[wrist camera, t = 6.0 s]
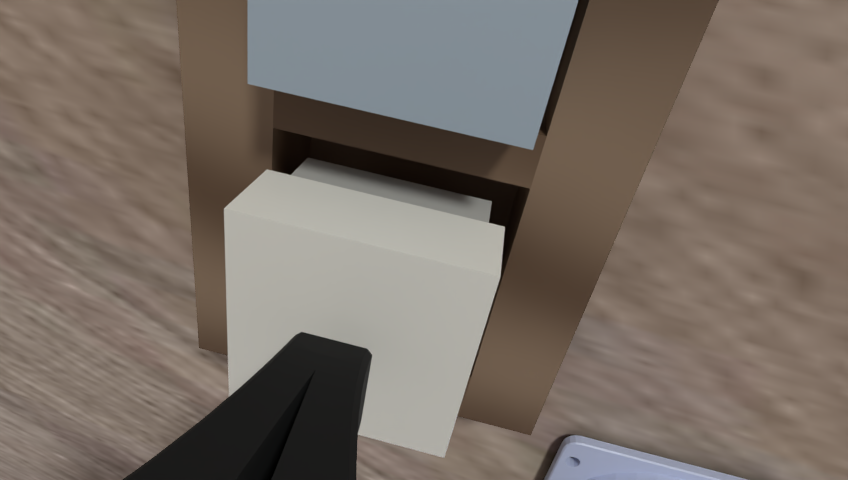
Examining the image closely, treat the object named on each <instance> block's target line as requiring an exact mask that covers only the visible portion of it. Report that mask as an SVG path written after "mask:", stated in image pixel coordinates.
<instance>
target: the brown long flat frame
mask: <svg viewBox="0 0 848 480" xmlns="http://www.w3.org/2000/svg"><path fill="white" fill-rule="evenodd" d="M718 1H719V0H578V4H577V7H576V10H575V14H574V17H573V20H572V24H571V27H570V30H569V33H568V37H567V40H566V43H565V47H564V50H563V53H562V56H561V60H560V63H559V66H558V70H557V73H556V76H555V80H554V83H553V86H552V89H551V93H550V96H549V99H548V103H547V106H546V109H545V112H544V116H543V119H542V122H541V126H540V129H539V132H538V135H537V139H536V142H535V145H534V149H533V150H531V149H526V148H522V147H518V146H513V145H509V144H505V143H500V142H496V141H492V140H487V139H483V138H479V137H475V136H470V135H466V134H462V133H457V132H453V131H449V130H444V129H440V128H436V127H431V126H427V125H423V124H418V123H414V122H410V121H406V120H401V119H397V118H393V117H388V116H384V115H380V114H375V113H371V112H367V111H362V110H358V109H354V108H350V107H345V106H341V105H337V104H332V103H328V102H324V101H319V100H315V99H311V98H306V97H302V96H298V95H293V94H289V93H285V92H281V91H276V90H272V89H268V88H263V87H259V86H255V85H250V84H248V0H176V4H177V19H178V34H179V49H180V64H181V80H182V95H183V110H184V125H185V140H186V156H187V171H188V186H189V201H190V216H191V232H192V247H193V262H194V277H195V292H196V307H197V323H198V338H199V348H202V349H205V350H209V351H213V352H217V353H220V354H224V355H228V342H227V306H226V269H225V233H224V208H225V207H226V206H227V205H228V204H229V203H231V202H232V201H233V200H234V199H235V198H236V197H237V196H238V195H239V194H240V193H241V192H243V191H244V190H245V189H246V188H247V187H248V186H249V185H250V184H251V183H252V182H254V181H255V180H256V179H257V178H258V177H259V176H260V175H261V174H262V173H263V172H265V171H266V170H267V169H268V170H272V171H276V172H280V173H284V174H288V175H291V174H292V173H293V172H294V171H295V170H296V169H297V168H298V167H299V166H300V165H301V164H302V163H303V162H304V161H305V160H306V159H307V158H312V159H316V160H321V161H325V162H329V163H333V164H337V165H342V166H346V167H350V168H354V169H358V170H363V171H367V172H371V173H375V174H379V175H383V176H388V177H392V178H396V179H400V180H404V181H409V182H413V183H417V184H421V185H425V186H430V187H434V188H438V189H442V190H446V191H450V192H455V193H459V194H463V195H467V196H471V197H476V198H480V199H484V200H488V201H492V204H491V211H490V218H489V223H492V224H496V225H500V226H504V227H505V232H504V243H503V254H502V265H501V276H500V280H499V283H498V286H497V290H496V293H495V296H494V299H493V302H492V306H491V309H490V312H489V315H488V318H487V322H486V325H485V328H484V331H483V335H482V338H481V341H480V344H479V347H478V351H477V354H476V357H475V360H474V364H473V367H472V370H471V373H470V376H469V380H468V383H467V386H466V389H465V392H464V396H463V399H462V402H461V405H460V409H459V412H458V415H457V416H460V417H463V418H467V419H471V420H475V421H479V422H482V423H486V424H490V425H494V426H498V427H501V428H505V429H509V430H513V431H517V432H520V433H524V434H528V435H531V433H532V431H533V429H534V426H535V424H536V422H537V419H538V417H539V415H540V412H541V410H542V408H543V405H544V403H545V401H546V398H547V396H548V394H549V392H550V389H551V387H552V385H553V382H554V380H555V378H556V375H557V373H558V371H559V368H560V366H561V364H562V361H563V359H564V357H565V355H566V352H567V350H568V348H569V345H570V343H571V341H572V338H573V336H574V334H575V331H576V329H577V327H578V324H579V322H580V320H581V318H582V315H583V313H584V311H585V308H586V306H587V304H588V301H589V299H590V297H591V294H592V292H593V290H594V288H595V285H596V283H597V281H598V278H599V276H600V274H601V271H602V269H603V267H604V264H605V262H606V260H607V257H608V255H609V253H610V251H611V248H612V246H613V244H614V241H615V239H616V237H617V234H618V232H619V230H620V227H621V225H622V223H623V220H624V218H625V216H626V214H627V211H628V209H629V207H630V204H631V202H632V200H633V197H634V195H635V193H636V190H637V188H638V186H639V183H640V181H641V179H642V177H643V174H644V172H645V170H646V167H647V165H648V163H649V160H650V158H651V156H652V153H653V151H654V149H655V146H656V144H657V142H658V140H659V137H660V135H661V133H662V130H663V128H664V126H665V123H666V121H667V119H668V116H669V114H670V112H671V109H672V107H673V105H674V103H675V100H676V98H677V96H678V93H679V91H680V89H681V86H682V84H683V82H684V79H685V77H686V75H687V72H688V70H689V68H690V66H691V63H692V61H693V59H694V56H695V54H696V52H697V49H698V47H699V45H700V42H701V40H702V38H703V35H704V33H705V31H706V29H707V26H708V24H709V22H710V19H711V17H712V15H713V12H714V10H715V8H716V5H717V3H718Z"/></svg>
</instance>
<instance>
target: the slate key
mask: <svg viewBox="0 0 848 480" xmlns="http://www.w3.org/2000/svg"><path fill="white" fill-rule="evenodd" d="M577 4H578V0H248V84H250V85H255V86H259V87H263V88H268V89H272V90H276V91H281V92H285V93H289V94H293V95H298V96H302V97H306V98H311V99H315V100H319V101H324V102H328V103H332V104H337V105H341V106H345V107H350V108H354V109H358V110H362V111H367V112H371V113H375V114H380V115H384V116H388V117H393V118H397V119H401V120H406V121H410V122H414V123H418V124H423V125H427V126H431V127H436V128H440V129H444V130H449V131H453V132H457V133H462V134H466V135H470V136H475V137H479V138H483V139H487V140H492V141H496V142H500V143H505V144H509V145H513V146H518V147H522V148H526V149H531V150H533V149H534V145H535V142H536V139H537V135H538V132H539V129H540V126H541V122H542V119H543V116H544V112H545V109H546V106H547V103H548V99H549V96H550V93H551V89H552V86H553V83H554V80H555V76H556V73H557V70H558V66H559V63H560V60H561V56H562V53H563V50H564V47H565V43H566V40H567V37H568V33H569V30H570V27H571V24H572V20H573V17H574V14H575V10H576V7H577Z"/></svg>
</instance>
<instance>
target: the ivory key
mask: <svg viewBox="0 0 848 480" xmlns="http://www.w3.org/2000/svg"><path fill="white" fill-rule="evenodd" d="M491 204H492V201H488V200H484V199H480V198H476V197H471V196H467V195H463V194H459V193H455V192H450V191H446V190H442V189H438V188H434V187H430V186H425V185H421V184H417V183H413V182H409V181H404V180H400V179H396V178H392V177H388V176H383V175H379V174H375V173H371V172H367V171H363V170H358V169H354V168H350V167H346V166H342V165H337V164H333V163H329V162H325V161H321V160H316V159H312V158H307V159H306V160H305V161H304V162H303V163H302V164H301V165H300V166H299V167H298V168H297V169H296V170H295V171H294V172H293V173H292V174H291V175H288V174H284V173H280V172H276V171H272V170H268V169H267V170H266V171H265V172H263V173H262V174H261V175H260V176H259V177H258V178H257V179H256V180H255V181H254V182H252V183H251V184H250V185H249V186H248V187H247V188H246V189H245V190H244V191H243V192H241V193H240V194H239V195H238V196H237V197H236V198H235V199H234V200H233V201H232V202H231V203H229V204H228V205H227V206H226V207H225V208H224V233H225V269H226V306H227V342H228V379H229V396H231V395H232V394H233V393H234V392H235V391H236V390H238V389H239V388H240V387H241V386H242V385H243V384H244V383H246V382H247V381H248V380H249V379H250V378H251V377H252V376H253V375H254V374H255V373H257V372H258V371H259V370H260V369H261V368H262V367H263V366H264V365H265V364H266V363H267V362H268V361H269V360H271V359H272V358H273V357H274V356H275V355H276V354H277V353H278V352H279V351H280V350H281V349H282V348H283V347H284V346H285V345H286V344H287V343H288V342H289V341H290V340H291V339H292V338H293V337H294V336H295V335H296V334H298V333H300V332H305V333H308V334H312V335H316V336H320V337H324V338H328V339H332V340H336V341H340V342H343V343H347V344H351V345H355V346H359V347H363V348H367V349H368V350H369V352H370V353H371V354H372V360H371V366H370V372H369V378H368V383H367V389H366V395H365V401H364V407H363V413H362V419H361V424H360V427H359V431H358V435H361V436H365V437H369V438H373V439H376V440H380V441H384V442H387V443H391V444H395V445H399V446H402V447H406V448H410V449H413V450H417V451H421V452H425V453H428V454H432V455H436V456H440V457H443V458H444V457H445V454H446V450H447V447H448V444H449V441H450V437H451V434H452V431H453V428H454V425H455V421H456V418H457V415H458V412H459V409H460V405H461V402H462V399H463V396H464V392H465V389H466V386H467V383H468V380H469V376H470V373H471V370H472V367H473V364H474V360H475V357H476V354H477V351H478V347H479V344H480V341H481V338H482V335H483V331H484V328H485V325H486V322H487V318H488V315H489V312H490V309H491V306H492V302H493V299H494V296H495V293H496V290H497V286H498V283H499V280H500V276H501V265H502V254H503V243H504V232H505V227H504V226H500V225H496V224H492V223H489V218H490V211H491Z"/></svg>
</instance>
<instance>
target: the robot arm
mask: <svg viewBox="0 0 848 480" xmlns="http://www.w3.org/2000/svg"><path fill="white" fill-rule="evenodd" d="M371 360H372V354H371V353H370V352H369V350H368V349H367V348H363V347H359V346H355V345H351V344H347V343H343V342H340V341H336V340H332V339H328V338H324V337H320V336H316V335H312V334H308V333H305V332H300V333H298V334H296V335H295V336H294V337H293V338H292V339H291V340H290V341H289V342H288V343H287V344H286V345H285V346H284V347H283V348H282V349H281V350H280V351H279V352H278V353H277V354H276V355H275V356H274V357H273V358H272V359H271V360H269V361H268V362H267V363H266V364H265V365H264V366H263V367H262V368H261V369H260V370H259V371H258V372H257V373H255V374H254V375H253V376H252V377H251V378H250V379H249V380H248V381H247V382H246V383H244V384H243V385H242V386H241V387H240V388H239V389H238V390H236V391H235V392H234V393H233V394H232V395H231V396H229V397H228V398H227V399H226V400H225V401H224V402H222V403H221V404H220V405H219V406H218V407H217V408H215V409H214V410H213V411H212V412H211V413H210V414H208V415H207V416H206V417H205V418H203V419H202V420H201V421H200V422H199V423H197V424H196V425H195V426H193V427H192V428H191V429H190V430H188V431H187V432H186V433H184V434H183V435H182V436H181V437H179V438H178V439H177V440H175V441H174V442H173V443H172V444H170V445H169V446H168V447H166V448H165V449H164V450H163V451H161V452H160V453H159V454H157V455H156V456H155V457H153V458H152V459H151V460H149V461H148V462H147V463H145V464H144V465H142V466H141V467H140V468H138V469H137V470H136V471H134V472H133V473H131V474H130V475H129V476H127V477H126V478H124V479H123V480H356V460H357V435H358V431H359V427H360V424H361V419H362V413H363V407H364V401H365V395H366V389H367V383H368V378H369V372H370V366H371ZM573 457H574V458H573ZM544 480H748V479H744V478H740V477H736V476H732V475H728V474H725V473H721V472H717V471H713V470H709V469H706V468H702V467H698V466H694V465H690V464H686V463H683V462H679V461H675V460H671V459H667V458H664V457H660V456H656V455H652V454H648V453H645V452H641V451H637V450H633V449H629V448H625V447H622V446H618V445H614V444H610V443H606V442H603V441H599V440H595V439H591V438H587V437H583V436H579V435H572V436H569V437H567V438H565V439H564V440H563V441H562V443H561V445H560V448H559V450H558V452H557V454H556V456H555V458H554V460H553V462H552V464H551V466H550V468H549V470H548V472H547V474H546V476H545V478H544Z"/></svg>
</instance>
